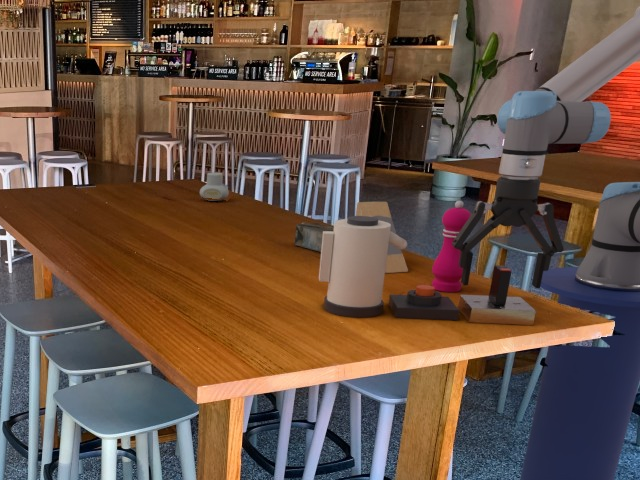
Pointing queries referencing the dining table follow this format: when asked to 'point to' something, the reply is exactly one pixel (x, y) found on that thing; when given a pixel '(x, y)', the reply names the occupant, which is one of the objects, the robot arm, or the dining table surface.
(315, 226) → the beverage carton
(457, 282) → the pepper mill
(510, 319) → the lever switch base
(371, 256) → the kettle
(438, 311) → the push button box
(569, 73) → the robot arm
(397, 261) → the sandwich container
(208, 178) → the air freshener
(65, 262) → the dining table surface
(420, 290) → the red push button
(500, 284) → the black switch lever
